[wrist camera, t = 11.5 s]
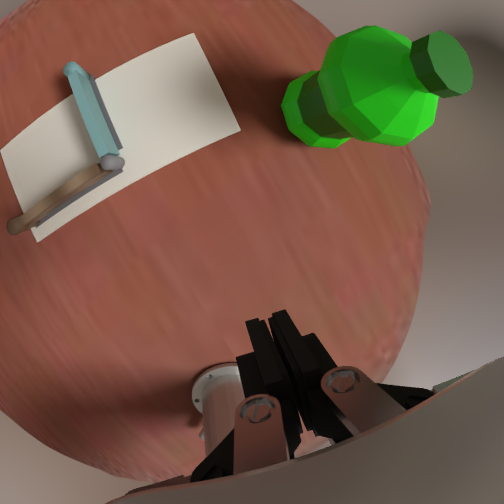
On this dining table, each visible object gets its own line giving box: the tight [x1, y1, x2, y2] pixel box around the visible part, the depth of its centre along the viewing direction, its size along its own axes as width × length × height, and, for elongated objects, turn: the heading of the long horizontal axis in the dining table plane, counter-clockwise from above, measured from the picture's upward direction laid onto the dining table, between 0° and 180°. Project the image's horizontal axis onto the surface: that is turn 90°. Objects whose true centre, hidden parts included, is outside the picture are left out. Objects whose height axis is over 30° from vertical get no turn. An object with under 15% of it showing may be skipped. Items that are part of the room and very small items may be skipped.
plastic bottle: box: [281, 26, 473, 148], centre depth 24 cm, size 10×10×25 cm
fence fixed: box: [7, 163, 113, 235], centre depth 30 cm, size 14×2×6 cm, turn 114°
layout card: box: [0, 33, 241, 243], centre depth 32 cm, size 31×16×1 cm, turn 114°
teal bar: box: [63, 62, 125, 170], centre depth 28 cm, size 15×2×5 cm, turn 24°
